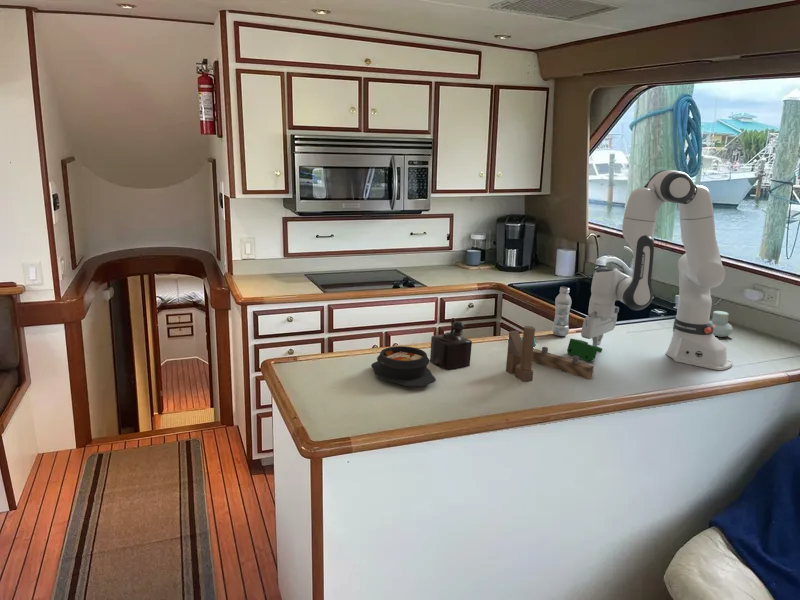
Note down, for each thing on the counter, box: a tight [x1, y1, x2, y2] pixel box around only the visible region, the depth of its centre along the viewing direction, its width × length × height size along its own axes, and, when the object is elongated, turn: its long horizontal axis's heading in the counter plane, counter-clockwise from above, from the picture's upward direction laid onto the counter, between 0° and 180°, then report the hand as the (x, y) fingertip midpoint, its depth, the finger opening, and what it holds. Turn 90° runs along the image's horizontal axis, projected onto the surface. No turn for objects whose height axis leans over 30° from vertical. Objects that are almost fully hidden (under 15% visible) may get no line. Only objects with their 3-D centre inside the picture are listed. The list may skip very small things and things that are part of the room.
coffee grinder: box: [429, 317, 473, 371], centre depth 214 cm, size 16×11×18 cm
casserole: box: [371, 345, 437, 388], centre depth 204 cm, size 25×19×8 cm
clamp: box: [566, 338, 603, 363], centre depth 232 cm, size 12×6×9 cm, turn 24°
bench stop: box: [532, 346, 594, 380], centre depth 218 cm, size 24×3×6 cm, turn 46°
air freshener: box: [709, 310, 734, 338], centre depth 266 cm, size 11×8×10 cm
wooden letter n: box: [505, 325, 536, 383], centre depth 208 cm, size 4×11×18 cm, turn 24°
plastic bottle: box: [551, 286, 572, 337], centre depth 254 cm, size 6×7×20 cm
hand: (596, 345), depth 237 cm, fingers closed
